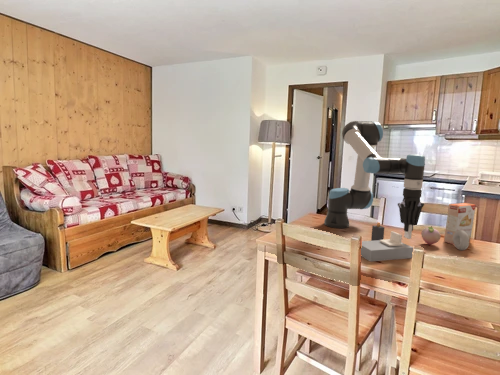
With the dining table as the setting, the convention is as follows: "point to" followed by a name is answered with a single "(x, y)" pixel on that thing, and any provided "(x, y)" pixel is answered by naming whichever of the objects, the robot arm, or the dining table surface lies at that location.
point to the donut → (461, 240)
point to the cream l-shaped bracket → (393, 240)
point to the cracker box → (459, 220)
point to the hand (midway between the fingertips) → (407, 237)
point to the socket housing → (384, 251)
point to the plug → (377, 232)
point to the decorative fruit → (430, 235)
